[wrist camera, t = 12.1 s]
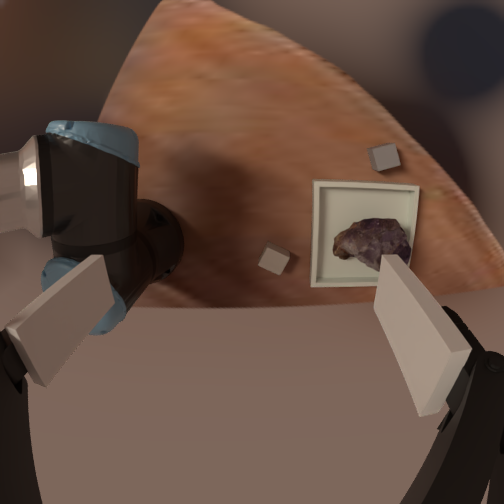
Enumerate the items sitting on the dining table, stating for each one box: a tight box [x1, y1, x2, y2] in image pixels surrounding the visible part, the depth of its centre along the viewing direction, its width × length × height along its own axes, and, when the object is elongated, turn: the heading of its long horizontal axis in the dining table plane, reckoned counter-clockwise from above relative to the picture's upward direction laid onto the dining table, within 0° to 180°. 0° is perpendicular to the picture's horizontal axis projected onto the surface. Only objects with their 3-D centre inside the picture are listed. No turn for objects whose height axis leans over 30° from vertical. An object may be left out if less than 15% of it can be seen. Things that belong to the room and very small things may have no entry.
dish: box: [310, 179, 420, 287], centre depth 46 cm, size 18×18×2 cm
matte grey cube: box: [258, 241, 290, 275], centre depth 48 cm, size 4×4×3 cm
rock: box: [332, 218, 412, 272], centre depth 43 cm, size 12×9×10 cm
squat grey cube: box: [367, 143, 401, 171], centre depth 41 cm, size 4×4×3 cm
